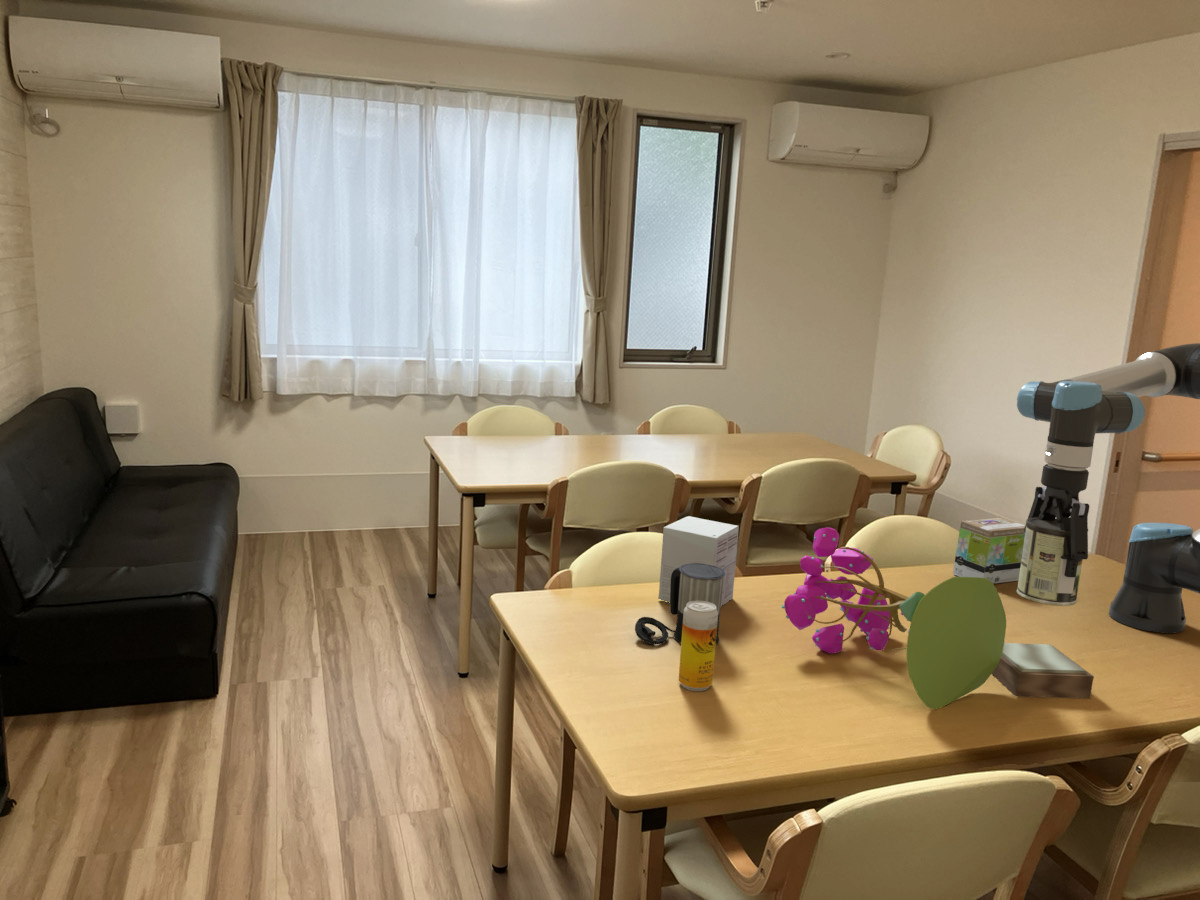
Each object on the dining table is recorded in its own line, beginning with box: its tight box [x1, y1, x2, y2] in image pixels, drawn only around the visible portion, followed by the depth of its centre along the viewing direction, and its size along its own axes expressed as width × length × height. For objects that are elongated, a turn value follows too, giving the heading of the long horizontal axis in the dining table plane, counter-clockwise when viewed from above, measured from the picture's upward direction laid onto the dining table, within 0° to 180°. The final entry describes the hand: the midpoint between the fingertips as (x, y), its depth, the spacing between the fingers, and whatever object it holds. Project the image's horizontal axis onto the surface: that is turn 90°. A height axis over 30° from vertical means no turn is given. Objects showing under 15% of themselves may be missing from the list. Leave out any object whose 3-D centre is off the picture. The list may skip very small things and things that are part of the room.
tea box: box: [952, 517, 1026, 585], centre depth 233 cm, size 15×10×15 cm
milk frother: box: [634, 563, 726, 645], centre depth 182 cm, size 14×16×15 cm
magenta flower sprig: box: [780, 527, 1007, 710], centre depth 176 cm, size 30×28×35 cm
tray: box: [991, 642, 1095, 700], centre depth 172 cm, size 14×14×5 cm
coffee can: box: [1016, 517, 1084, 607], centre depth 168 cm, size 10×10×14 cm
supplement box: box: [657, 515, 740, 607], centre depth 205 cm, size 13×13×18 cm
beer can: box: [678, 601, 718, 692], centre depth 161 cm, size 6×6×15 cm
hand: (1048, 582), depth 169 cm, fingers closed on coffee can, 10 cm apart
